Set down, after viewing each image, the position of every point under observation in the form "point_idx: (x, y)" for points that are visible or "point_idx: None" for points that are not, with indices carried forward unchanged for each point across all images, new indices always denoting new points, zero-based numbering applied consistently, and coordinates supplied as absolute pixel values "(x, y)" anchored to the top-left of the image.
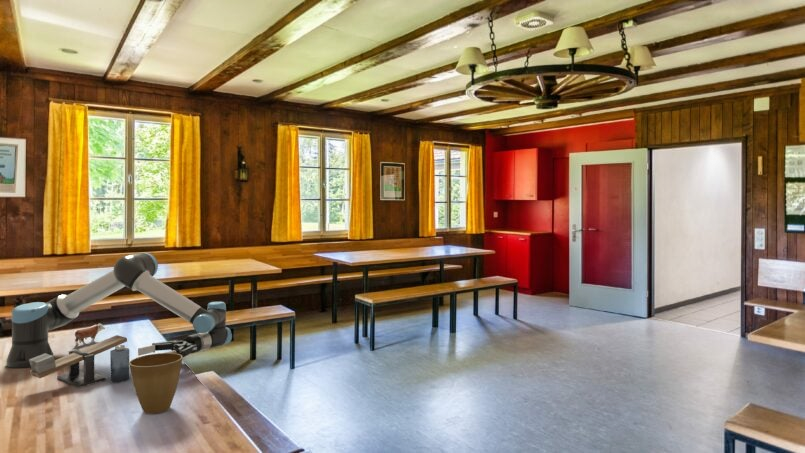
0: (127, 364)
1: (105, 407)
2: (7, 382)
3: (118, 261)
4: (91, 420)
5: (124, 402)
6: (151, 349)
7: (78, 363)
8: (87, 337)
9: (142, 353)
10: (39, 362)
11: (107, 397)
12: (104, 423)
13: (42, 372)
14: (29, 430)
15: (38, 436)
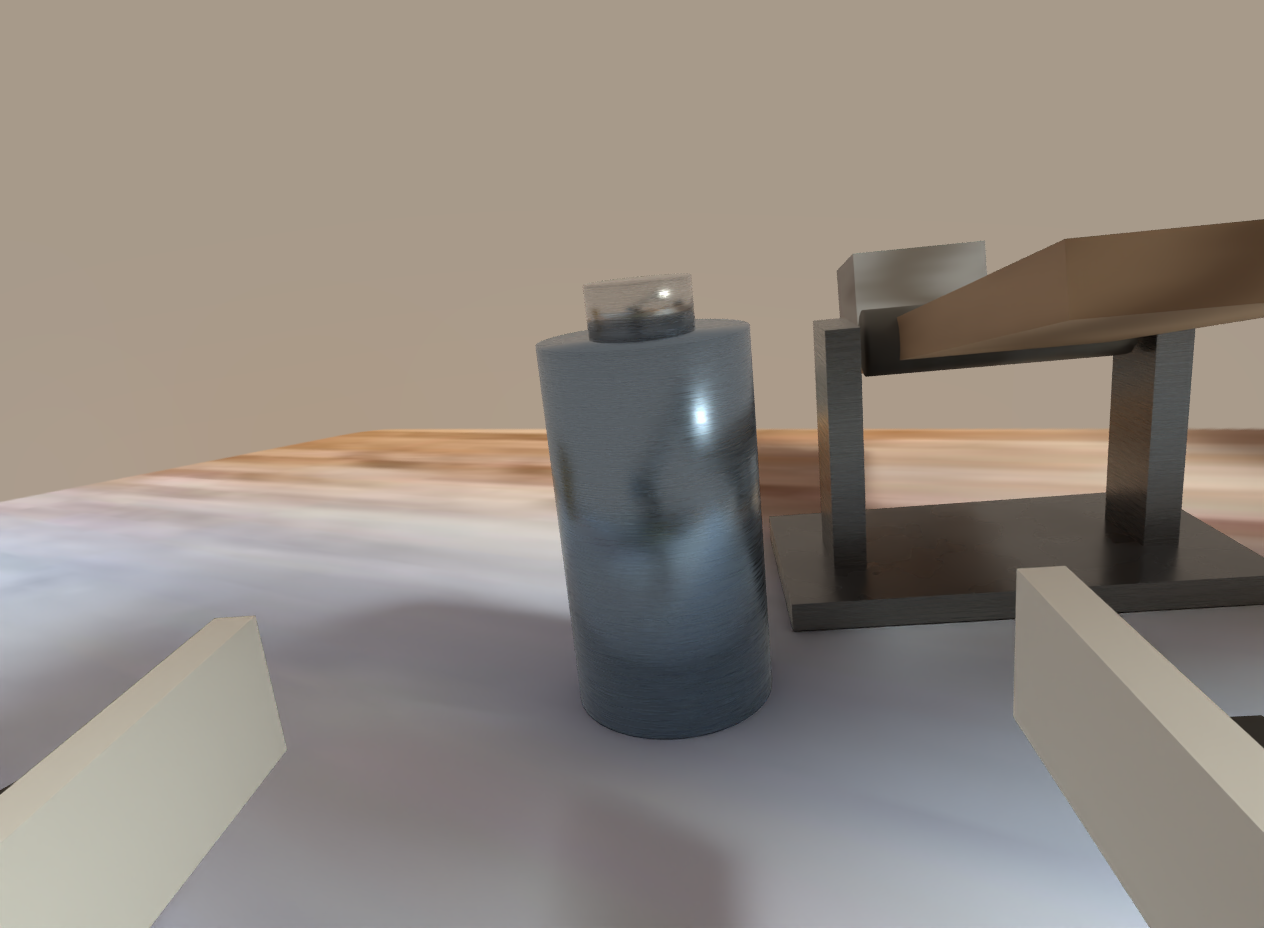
0: (560, 525)
1: (271, 545)
2: (1233, 430)
3: None
4: (227, 509)
5: (196, 590)
6: (1184, 874)
7: (1147, 445)
8: None
9: (1046, 735)
10: (838, 273)
11: (388, 570)
12: (135, 520)
13: None
14: (411, 445)
15: (332, 451)
